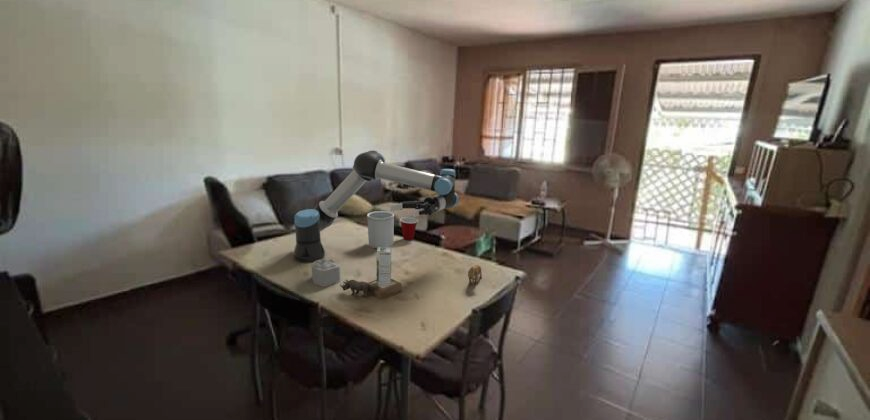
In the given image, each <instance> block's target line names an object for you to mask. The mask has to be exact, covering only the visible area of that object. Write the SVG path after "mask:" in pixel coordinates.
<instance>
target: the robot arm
mask: <svg viewBox="0 0 870 420" xmlns="http://www.w3.org/2000/svg"><path fill="white" fill-rule="evenodd" d="M439 173H440V174H439V175H438V174H433V173H429V172H425V171H420V170H417V169H412V168H408V167H404V166H399V165H397V164H391V163H387V162H386V159H385V156H384V154H382V153H381V152H380V151H378V150H368V151H365V152H362V153H360V154H357V156H356V157H355V159H354V161H353V165H352V171H351V172H350V173H349V174H348V175H347V176H346V177H345V179H344V180H342V182H341V183H340V184H339V185H338V186H337V187H336V188H335V189H334V191H332V193H330V195H329V196H328V197H326V199H325V200H320V201H319V203H318V204H316V205H315V206H314V208H313V209H311V208H307V209H304V210H299V211H298V212H296V214H295V215H294V228H295V229H294V231H295V240H296V242H295V243H296V244H295V246H294V251H293V254H292V255H293V260H295V261H296V262H299V263H300V262H302V263H309V262H311V263H312V262H315V261H317V260H320V259H321V260H322V259H323V258H325V256H326V251H325V248H324V246H323V244H322V242H321V241H322V240H321V232H322V231H324V230H325V229H326V228H328V227H330V226H331V225H332V224H333V223H334V221H335V220H336V218H337V217H338V216H339V214H338V213H339V211H340V210H341V209H342V208H343V207H344V206H345V205H346V203H348V202H349V200H350V199H351V198H352V197H353V196H354V195H355V194H356V193H357V192H358V191H359V190H360V189H361V187H362V186H363V185H364V184H366V183H368V182H369V183H370V182H371V181H372V180H374V181H375V180H376V181H377V180H381V179H383V180H384V181H390V182H394V183H398V184H403V185H407V186H411V187H415V188H420V189H423V190H428V191H431V192H436V195H432V196H427V197H425V198H424V200H421V201H419V200H410V201H399V202H398V203H396V204H391V205H390V212H391V213H393V212H396V211H402V210H404V209H414V210H412V211H411V214H412V217H411V218H416V217H419V216H424V215H429V216H432V215H433V214H434V213H435V212H439V211H442V210H447V209H451V208H454V207H456V206H457V205H458V204H459V202H460V198H459V194H457V192H456V177H457V176H456V170H455V169H452V168H442V169H441V170H440V171H439Z"/></svg>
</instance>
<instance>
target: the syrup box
mask: <svg viewBox="0 0 870 420" xmlns="http://www.w3.org/2000/svg"><path fill="white" fill-rule="evenodd" d="M376 249H377V250H376V279H377V285H391V279H392V246H391V247H378V248H376Z"/></svg>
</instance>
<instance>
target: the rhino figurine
mask: <svg viewBox="0 0 870 420" xmlns="http://www.w3.org/2000/svg"><path fill="white" fill-rule="evenodd" d="M342 283H343V284H339V286H340V287H341V289H342V290H343V292H344V291H348V290H349V289H350V291H351V293H350V295H351V296H355V294H359V293H360V292H362V293H363V294H362V295H361V298H363V299H364V298H366V297H371V296H372V294H371V291H370V285H369V284H368V283H369V282H366V281H359V280H358V281H357V280H355V279H350V280H348V279H346V280H345V281H343V282H342ZM367 291H368V292H367ZM367 293H368V294H367Z"/></svg>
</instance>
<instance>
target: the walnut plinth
mask: <svg viewBox="0 0 870 420" xmlns="http://www.w3.org/2000/svg"><path fill="white" fill-rule="evenodd" d="M367 283H368V284H369V285H370V291H371V296H374V297H376V298H379V299H380V300H385V299H388V298H391V297H393V296H395V295H397V294H400V293H402V282H399V281H397V280H395V279H393V278H391V285H377V278H376V279H374V280H372V281H369V282H367ZM367 293H368V291H367Z"/></svg>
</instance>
